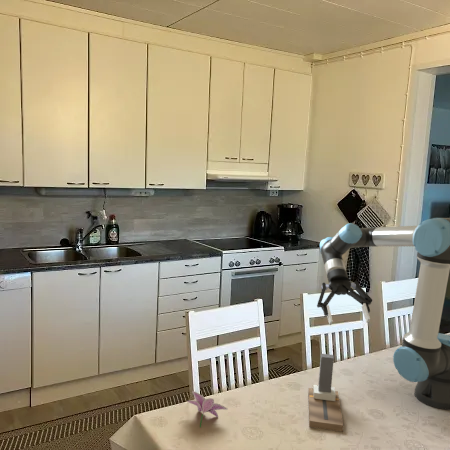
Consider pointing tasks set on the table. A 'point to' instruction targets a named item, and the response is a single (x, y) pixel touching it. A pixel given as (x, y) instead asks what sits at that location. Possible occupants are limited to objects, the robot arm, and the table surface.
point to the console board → (325, 413)
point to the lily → (206, 405)
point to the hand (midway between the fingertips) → (349, 322)
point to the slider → (325, 379)
